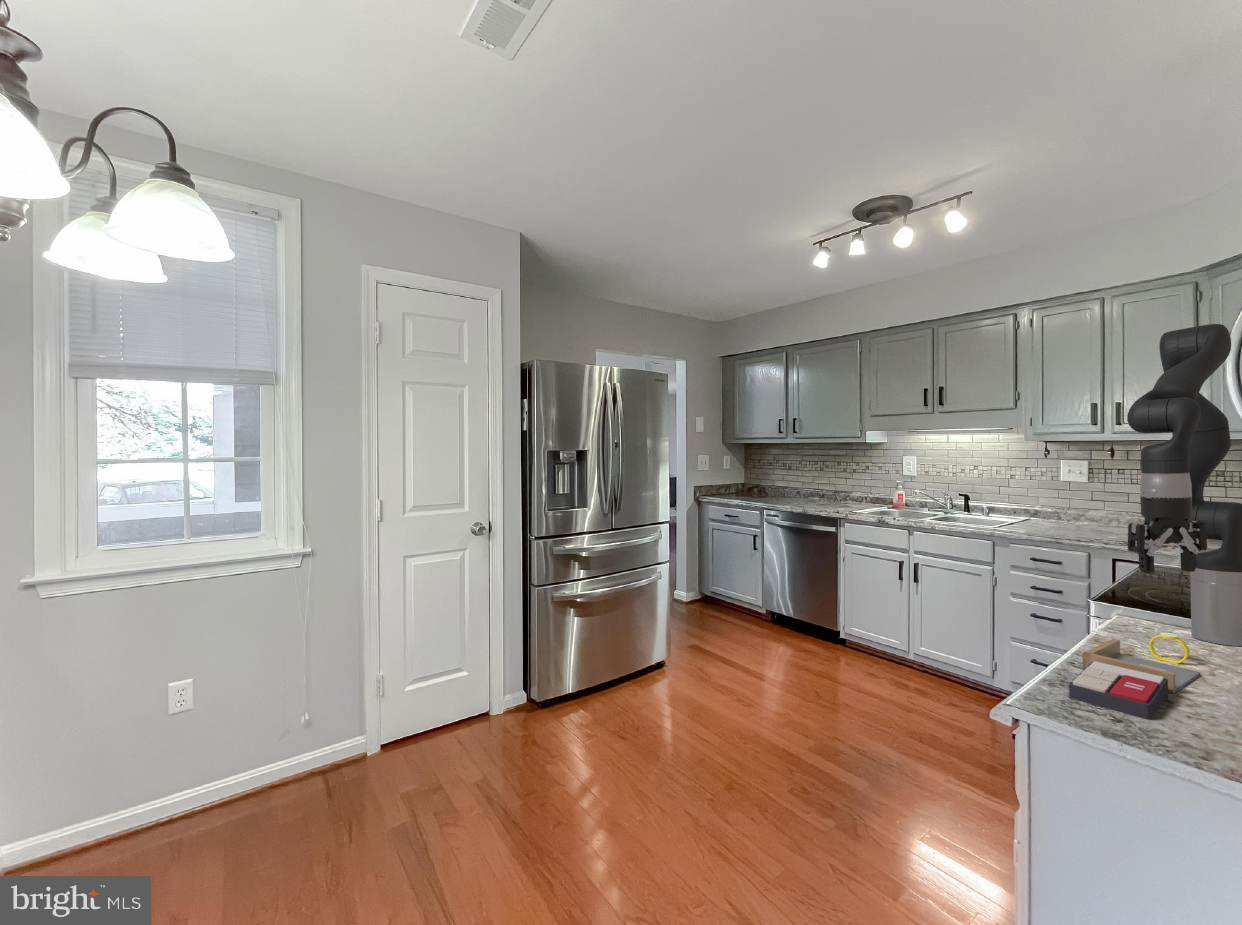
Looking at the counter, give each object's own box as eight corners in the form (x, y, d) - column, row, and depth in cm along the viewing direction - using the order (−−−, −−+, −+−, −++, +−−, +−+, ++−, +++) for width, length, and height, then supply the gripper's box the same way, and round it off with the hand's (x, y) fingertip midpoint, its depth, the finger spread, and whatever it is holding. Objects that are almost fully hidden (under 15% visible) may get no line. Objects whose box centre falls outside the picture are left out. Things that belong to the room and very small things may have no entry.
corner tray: (1113, 654, 120) (1112, 638, 120) (1200, 675, 108) (1199, 657, 108) (1082, 670, 112) (1082, 652, 112) (1173, 693, 100) (1173, 674, 100)
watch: (1189, 665, 114) (1191, 638, 114) (1185, 668, 113) (1188, 640, 112) (1151, 654, 119) (1153, 628, 119) (1147, 657, 118) (1149, 631, 117)
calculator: (1067, 680, 99) (1091, 657, 108) (1068, 703, 100) (1092, 678, 108) (1149, 701, 90) (1168, 674, 99) (1150, 726, 91) (1168, 697, 99)
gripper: (1180, 491, 114) (1182, 566, 115) (1114, 494, 114) (1116, 569, 115) (1219, 494, 107) (1222, 574, 107) (1149, 497, 107) (1151, 577, 107)
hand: (1167, 572), depth 111 cm, fingers open, 8 cm apart
